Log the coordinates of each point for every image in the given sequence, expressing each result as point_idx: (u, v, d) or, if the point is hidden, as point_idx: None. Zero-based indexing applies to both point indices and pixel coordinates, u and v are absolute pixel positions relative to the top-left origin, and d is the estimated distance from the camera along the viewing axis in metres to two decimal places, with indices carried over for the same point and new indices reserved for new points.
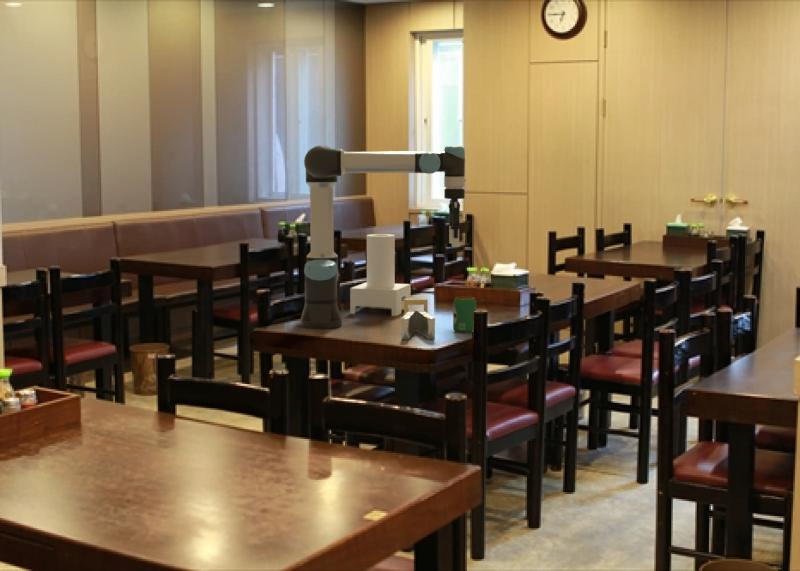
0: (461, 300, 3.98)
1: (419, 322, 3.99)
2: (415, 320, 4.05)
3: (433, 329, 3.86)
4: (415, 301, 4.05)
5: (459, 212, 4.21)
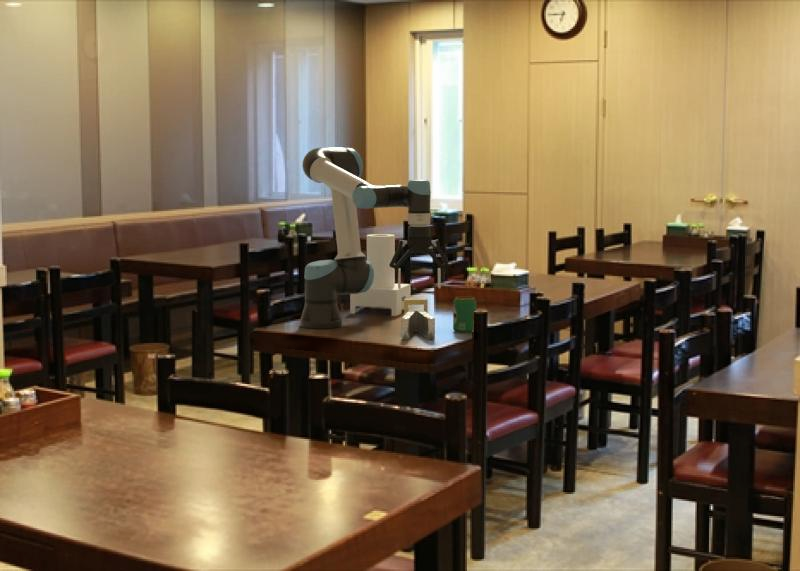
0: (461, 300, 3.98)
1: (419, 322, 3.99)
2: (415, 320, 4.05)
3: (433, 329, 3.86)
4: (415, 301, 4.05)
5: (407, 252, 3.86)
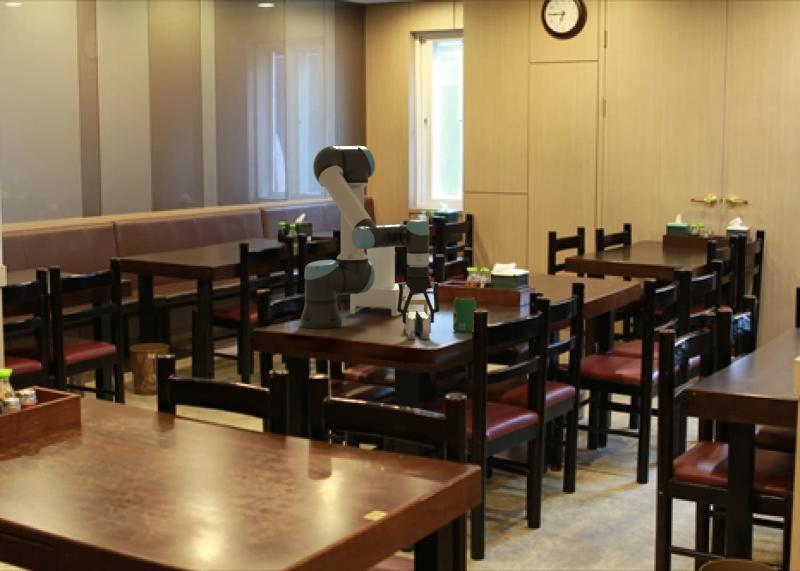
0: (461, 300, 3.98)
1: None
2: None
3: (427, 329, 3.86)
4: (415, 301, 4.05)
5: (409, 294, 3.87)
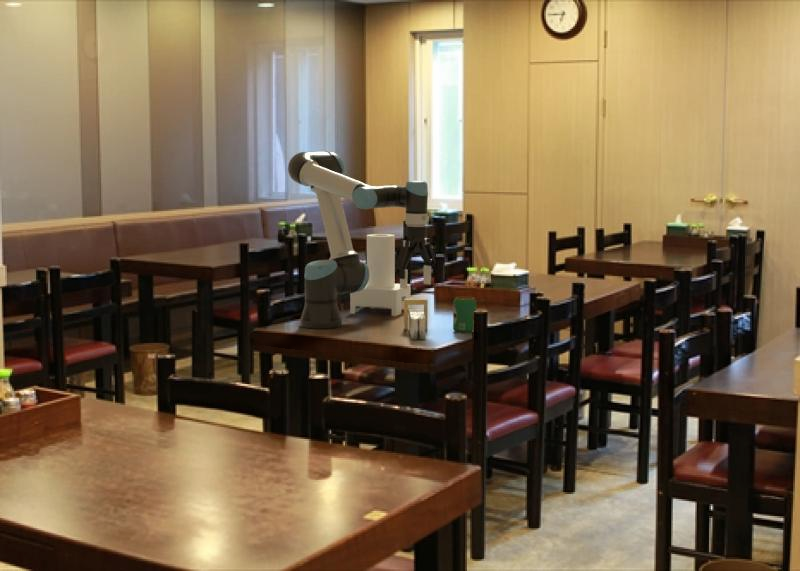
0: (461, 300, 3.98)
1: None
2: None
3: (423, 329, 3.85)
4: (415, 301, 4.05)
5: (412, 251, 3.95)
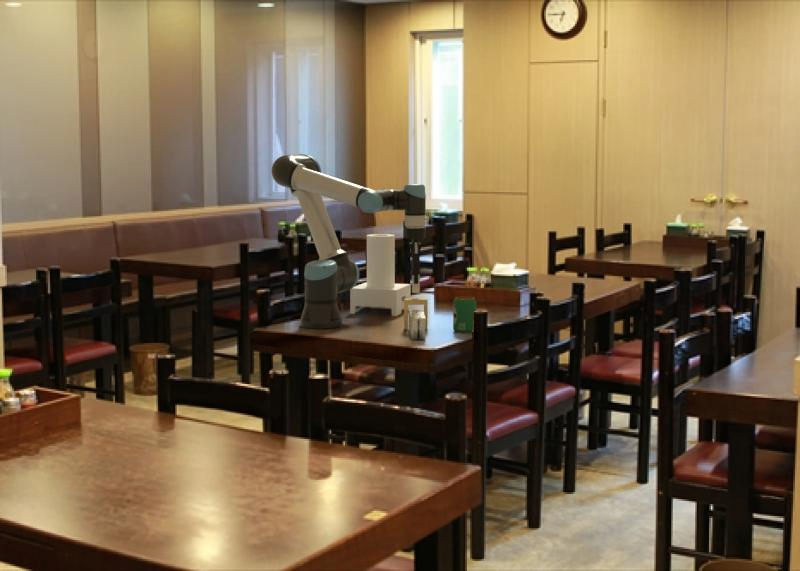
0: (461, 300, 3.98)
1: None
2: None
3: (423, 329, 3.85)
4: (415, 301, 4.05)
5: None
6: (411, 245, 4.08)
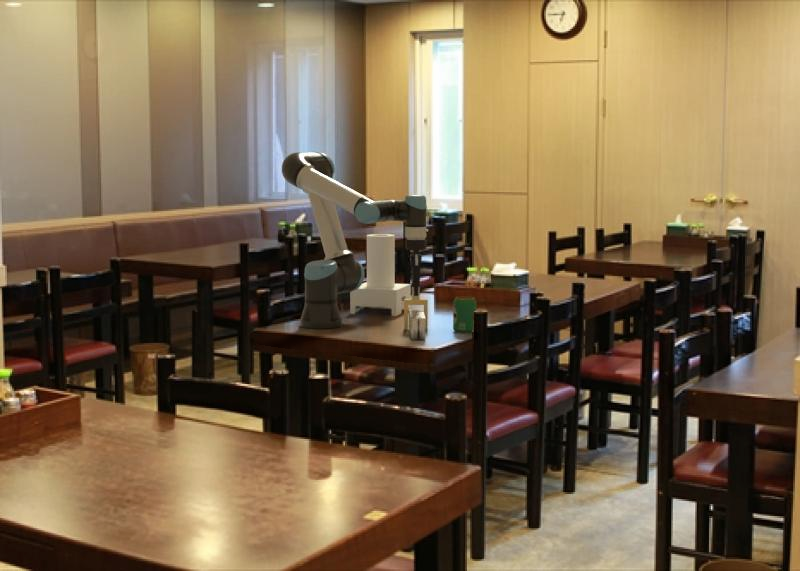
0: (461, 300, 3.98)
1: None
2: None
3: (423, 329, 3.85)
4: (415, 302, 4.04)
5: None
6: (411, 257, 4.04)
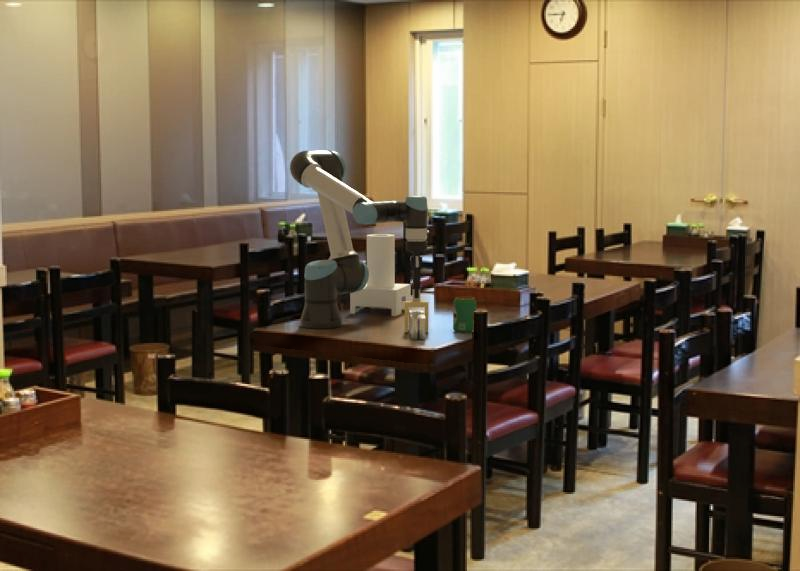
0: (461, 300, 3.98)
1: None
2: None
3: (423, 329, 3.85)
4: (415, 304, 3.99)
5: None
6: (412, 258, 3.98)
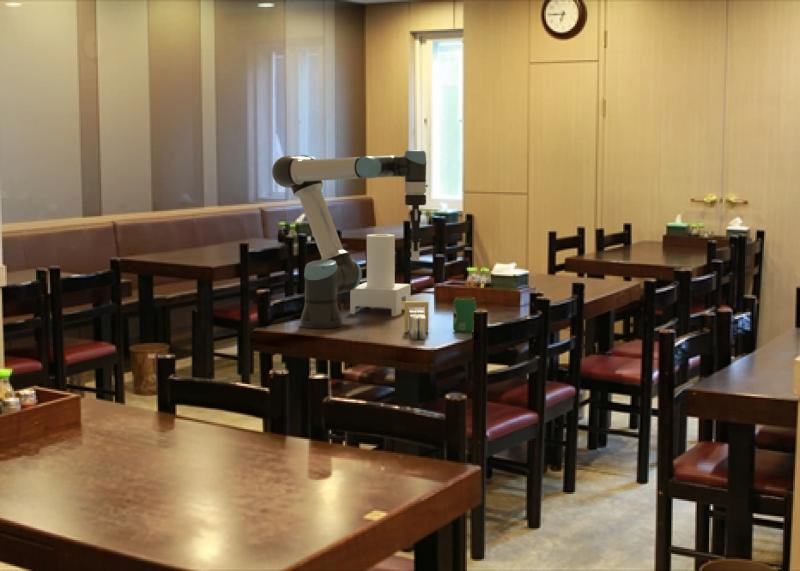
0: (461, 300, 3.98)
1: None
2: None
3: (423, 329, 3.85)
4: (415, 304, 3.99)
5: None
6: (411, 212, 4.04)
